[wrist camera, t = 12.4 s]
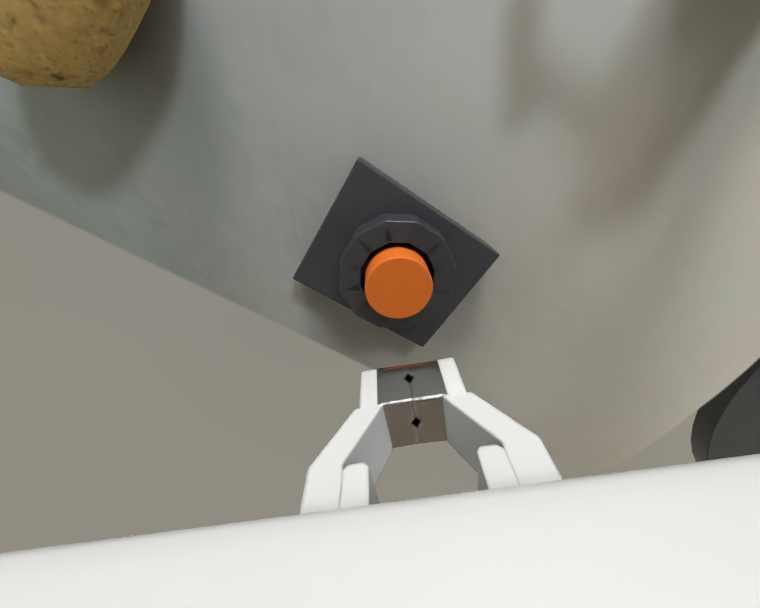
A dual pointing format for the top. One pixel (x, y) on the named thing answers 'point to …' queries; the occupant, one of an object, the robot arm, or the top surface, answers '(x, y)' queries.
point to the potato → (65, 39)
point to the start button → (398, 283)
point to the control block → (384, 230)
